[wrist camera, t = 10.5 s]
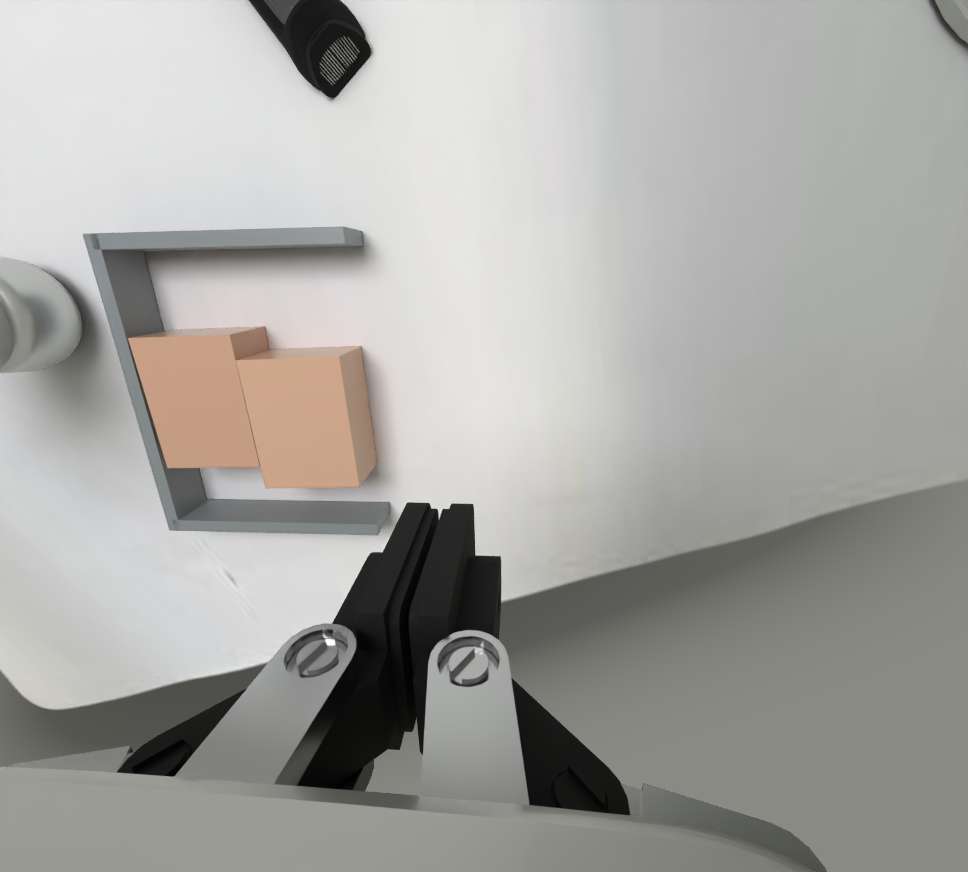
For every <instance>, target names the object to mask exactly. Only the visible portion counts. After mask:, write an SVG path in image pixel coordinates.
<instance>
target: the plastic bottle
mask: <svg viewBox="0 0 968 872" xmlns="http://www.w3.org/2000/svg"><path fill="white" fill-rule="evenodd" d="M81 335H82V320H81V315H80V312H79V309H78V307H77V305H76V303H75V301H74V299H73V297H72V296H71V295H70V293H69V292H68V291H67V289H66V288H65V287H64V286H63V285H62V284H61V283H60V282H59V281H57V280H56V279H55V278H54V277H52V276H51V275H49V274H48V273H46V272H45V271H43V270H42V269H40V268H38V267H36V266H34V265H33V264H30V263H27V262H24V261H21V260H16V259H11V258H5V257H0V373H13V372H27V371H37V370H40V369H44V368H46V367H49V366H51V365H54V364H56V363H59V362H61V361H63V360H65V359H66V358H68V357H69V356H70V355H71V354H72V353H73V351H74V350H75V348H76V347H77V345H78V343H79V341H80V339H81Z"/></svg>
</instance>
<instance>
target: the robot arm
mask: <svg viewBox="0 0 968 872" xmlns="http://www.w3.org/2000/svg"><path fill="white" fill-rule="evenodd" d="M935 2H936V4H937V6H938V8H939V10H940V12H941V14H942V16H943V18H944V20H945V21H946V22H947V23H948V24H949V25H950V27H951V28H952V29H953V30H954V31H955V32H956V33H957V35H958V36H959V37H960V38H961V39H963V40H964V41H966V42H967V43H968V0H935ZM500 612H501V557H500V556H475V532H474V507H473V504H451V506H450V509H443V510H442V513H441V516H440V519H439V517H438V510H437V509H431V506H430V504H429V503H407V504H406V506H405V508H404V510H403V512H402V514H401V516H400V518H399V520H398V522H397V524H396V526H395V529H394V531H393V533H392V535H391V537H390V539H389V541H388V543H387V545H386V547H385V549H384V551H383V553H380V552H373V553H370V555H369V556H368V558H367V560H366V561H365V563H364V565H363V567H362V569H361V571H360V573H359V575H358V576H357V578H356V580H355V582H354V584H353V586H352V588H351V590H350V591H349V593H348V595H347V597H346V599H345V601H344V603H343V604H342V606H341V608H340V610H339V612H338V614H337V616H336V618H335V619H334V621H333V623H332V624H321V625H315V626H312V627H309V628H307V629H304V630H302V631H300V632H299V633H297V634H296V635H294V636H292V637H291V638H290V639H289V640H288V641H287V642H286V643H285V644H284V645H283V646H282V647H281V648H280V649H279V650H278V652H277V653H276V654H275V655H274V657H273V658H272V659H271V660H270V661H269V663H268V664H267V665H266V666H265V668H264V669H263V670H262V671H261V672H260V673H259V675H258V676H257V677H256V678H255V680H254V681H253V682H252V683H251V684H250V686H249V687H248V688H246V689H245V690H243V691H241V692H239V693H237V694H235V695H234V696H232V697H230V698H228V699H226V700H224V701H222V702H220V703H218V704H217V705H215V706H213V707H211V708H209V709H207V710H205V711H203V712H201V713H200V714H198V715H196V716H194V717H192V718H191V719H189V720H186V721H185V722H183V723H181V724H179V725H177V726H175V727H174V728H171V729H170V730H168V731H166V732H164V733H162V734H160V735H158V736H157V737H155V738H154V739H152V740H150V741H149V742H147V743H146V744H144V745H143V746H141V747H140V748H139V749H138V750H137V751H136V752H133V750H132V747H131V746H126V747H120V748H114V749H107V750H101V751H94V752H88V753H81V754H75V755H68V756H62V757H56V758H49V759H43V760H36V761H30V762H24V763H17V764H13V765H9V766H6V767H0V872H827V871H826V869H825V867H824V866H823V865H822V864H821V862H820V861H819V859H818V858H817V857H816V856H815V854H814V853H813V852H812V851H811V849H810V848H809V847H808V846H806V845H805V844H804V843H803V842H802V841H800V840H799V839H798V838H797V837H796V836H794V835H793V834H792V833H791V832H789V831H787V830H785V829H783V828H781V827H778V826H776V825H774V824H772V823H770V822H766V821H763V820H760V819H757V818H754V817H750V816H747V815H744V814H741V813H737V812H734V811H731V810H728V809H725V808H721V807H718V806H715V805H712V804H709V803H705V802H702V801H699V800H696V799H693V798H689V797H686V796H683V795H680V794H676V793H673V792H670V791H667V790H664V789H660V788H657V787H654V786H651V785H648V784H644V783H643V786H642V790H639V789H636V788H633V787H630V786H627V785H624V784H621V783H620V781H619V780H618V779H617V777H616V776H615V775H614V774H613V773H612V771H611V770H610V769H609V768H608V767H607V766H606V765H605V764H604V763H603V762H602V761H601V760H600V759H599V758H597V757H596V756H595V755H594V754H593V753H592V752H591V751H590V750H589V749H588V748H587V747H586V746H584V745H583V744H582V743H581V742H580V741H579V740H578V739H577V738H576V737H575V736H574V735H573V734H571V733H570V732H569V731H568V730H567V729H566V728H565V727H564V726H563V725H562V724H561V723H560V722H559V721H557V720H556V719H555V718H554V717H553V716H552V715H551V714H550V713H549V712H548V711H547V710H545V709H544V708H543V707H542V706H541V705H540V704H539V703H538V702H537V701H536V700H535V699H534V698H533V697H531V696H530V695H529V694H528V693H527V692H526V691H525V690H524V689H523V688H522V687H520V685H518V684H517V683H516V682H515V681H514V680H513V679H512V678H511V674H510V666H509V660H508V655H507V652H506V650H505V647H504V646H503V645H502V644H501V643H500V641H499V628H500ZM416 717H417V725H418V735H419V746H420V752H421V753H422V755H423V763H422V780H421V796H415V795H403V794H391V793H378V792H366V791H365V790H366V788H367V786H368V784H369V781H370V779H371V776H372V773H373V769H374V759H375V758H376V757H378V756H379V755H380V754H382V753H383V752H384V751H386V750H387V749H394V750H400V746H401V743H402V738H403V735H404V731H405V732H412V731H413V729H414V725H415V721H416Z"/></svg>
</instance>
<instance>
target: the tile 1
mask: <svg viewBox="0 0 968 872" xmlns="http://www.w3.org/2000/svg"><path fill="white" fill-rule="evenodd" d="M128 340H129V343H130V346H131V350H132V353H133V356H134V360H135V363H136V366H137V369H138V373H139V376H140V379H141V383H142V386H143V389H144V392H145V396H146V399H147V402H148V406H149V409H150V412H151V415H152V419H153V422H154V425H155V429H156V432H157V435H158V438H159V442H160V445H161V448H162V452H163V455H164V458H165V461H166V465H167V468H234V467H260V462H259V458H258V454H257V449H256V445H255V441H254V437H253V432H252V428H251V424H250V419H249V415H248V411H247V407H246V402H245V398H244V394H243V389H242V385H241V381H240V376H239V372H238V368H237V364H236V360H238V359H241V358H244V357H248V356H251V355H254V354H257V353H260V352H263V351H266V350H269V345H268V340H267V335H266V330H265V326H263V327H235V328H207V329H179V330H170V331H165V332H159V333H154V334H148V335H142V336H137V337H131V338H128Z"/></svg>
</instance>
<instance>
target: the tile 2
mask: <svg viewBox="0 0 968 872" xmlns="http://www.w3.org/2000/svg"><path fill="white" fill-rule="evenodd" d="M236 364H237V368H238V372H239V376H240V381H241V385H242V389H243V394H244V398H245V402H246V407H247V411H248V415H249V419H250V424H251V428H252V432H253V437H254V441H255V445H256V449H257V454H258V458H259V462H260V467H261V471H262V475H263V480H264V484H265V488H339V487H360V486H361V484H362V483H363V482H364V480H365V479H366V478H367V476H368V475H369V473H370V472H371V471H372V469H373V468H374V467H375V465H376V464H377V457H376V449H375V442H374V435H373V428H372V421H371V413H370V406H369V399H368V392H367V384H366V377H365V370H364V363H363V356H362V348H361V346H345V347H319V348H292V349H269V350H266V351H263V352H260V353H257V354H254V355H251V356H248V357H244V358H241V359H238V360H236Z"/></svg>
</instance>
